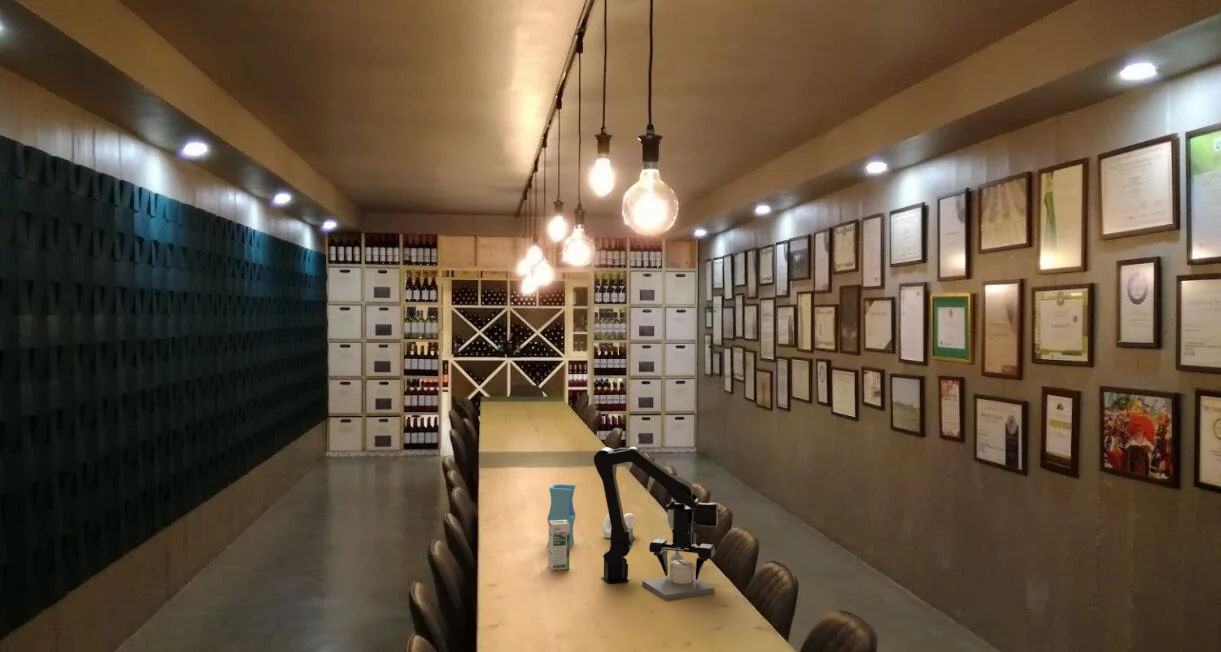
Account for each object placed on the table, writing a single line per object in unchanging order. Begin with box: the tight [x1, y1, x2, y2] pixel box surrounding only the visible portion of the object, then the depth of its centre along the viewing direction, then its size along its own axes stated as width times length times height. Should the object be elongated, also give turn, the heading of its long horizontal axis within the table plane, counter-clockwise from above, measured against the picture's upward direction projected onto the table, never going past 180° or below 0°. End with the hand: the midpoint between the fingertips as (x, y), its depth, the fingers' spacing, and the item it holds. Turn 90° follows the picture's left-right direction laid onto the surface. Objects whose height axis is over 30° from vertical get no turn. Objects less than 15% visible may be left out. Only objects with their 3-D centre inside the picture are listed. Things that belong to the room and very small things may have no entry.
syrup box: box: [547, 520, 571, 571], centre depth 262 cm, size 6×6×14 cm
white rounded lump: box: [601, 512, 637, 540], centre depth 299 cm, size 11×12×9 cm
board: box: [641, 576, 715, 601], centre depth 242 cm, size 16×14×5 cm
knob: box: [669, 559, 695, 584], centre depth 246 cm, size 7×7×5 cm
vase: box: [547, 483, 576, 548], centre depth 289 cm, size 8×8×20 cm
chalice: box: [666, 503, 684, 563], centre depth 271 cm, size 7×7×18 cm
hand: (681, 577), depth 246 cm, fingers open, 9 cm apart
